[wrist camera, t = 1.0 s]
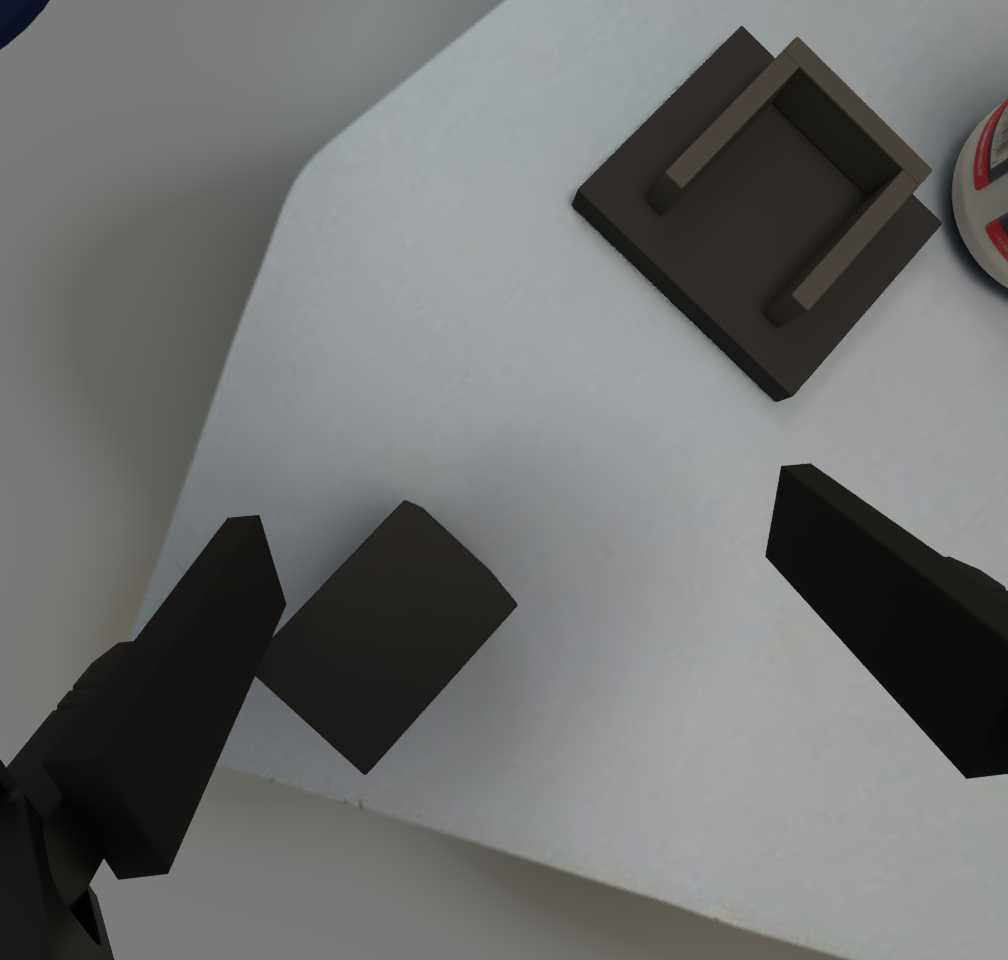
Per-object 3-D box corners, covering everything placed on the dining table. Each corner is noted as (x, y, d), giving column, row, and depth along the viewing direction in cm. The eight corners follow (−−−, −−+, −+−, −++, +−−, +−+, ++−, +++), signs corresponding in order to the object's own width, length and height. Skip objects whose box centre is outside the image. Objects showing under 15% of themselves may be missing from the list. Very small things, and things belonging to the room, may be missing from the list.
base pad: (570, 205, 30) (589, 158, 26) (728, 47, 32) (767, -20, 28) (776, 402, 31) (824, 385, 27) (920, 236, 32) (986, 197, 28)
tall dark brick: (324, 608, 27) (243, 667, 17) (421, 506, 28) (404, 498, 17) (397, 674, 28) (365, 777, 17) (491, 571, 28) (518, 605, 18)
